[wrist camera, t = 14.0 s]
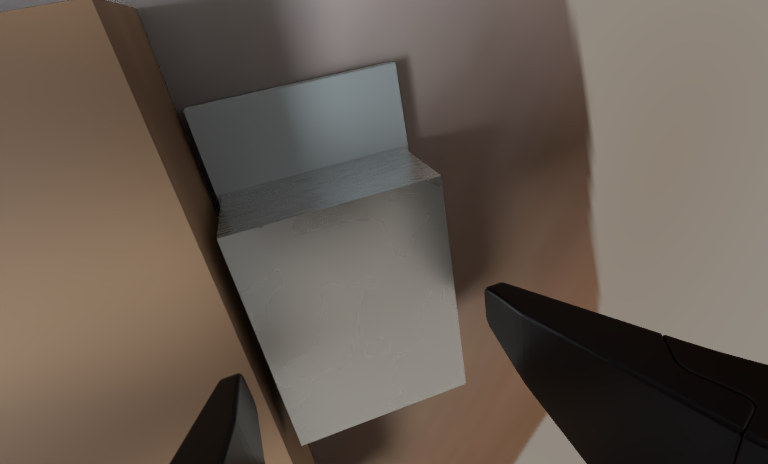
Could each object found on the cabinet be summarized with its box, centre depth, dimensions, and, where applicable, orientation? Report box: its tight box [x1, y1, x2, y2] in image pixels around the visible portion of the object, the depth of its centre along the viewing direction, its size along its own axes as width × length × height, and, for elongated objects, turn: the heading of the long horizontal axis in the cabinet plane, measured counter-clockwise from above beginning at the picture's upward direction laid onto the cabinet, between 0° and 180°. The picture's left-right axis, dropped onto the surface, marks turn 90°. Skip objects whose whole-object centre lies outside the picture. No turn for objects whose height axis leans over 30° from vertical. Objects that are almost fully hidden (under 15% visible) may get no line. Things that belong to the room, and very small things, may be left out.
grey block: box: [217, 146, 466, 446], centre depth 11 cm, size 6×4×2 cm
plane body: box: [0, 0, 315, 464], centre depth 10 cm, size 16×8×3 cm, turn 10°
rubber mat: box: [183, 62, 409, 205], centre depth 12 cm, size 10×5×1 cm, turn 10°
